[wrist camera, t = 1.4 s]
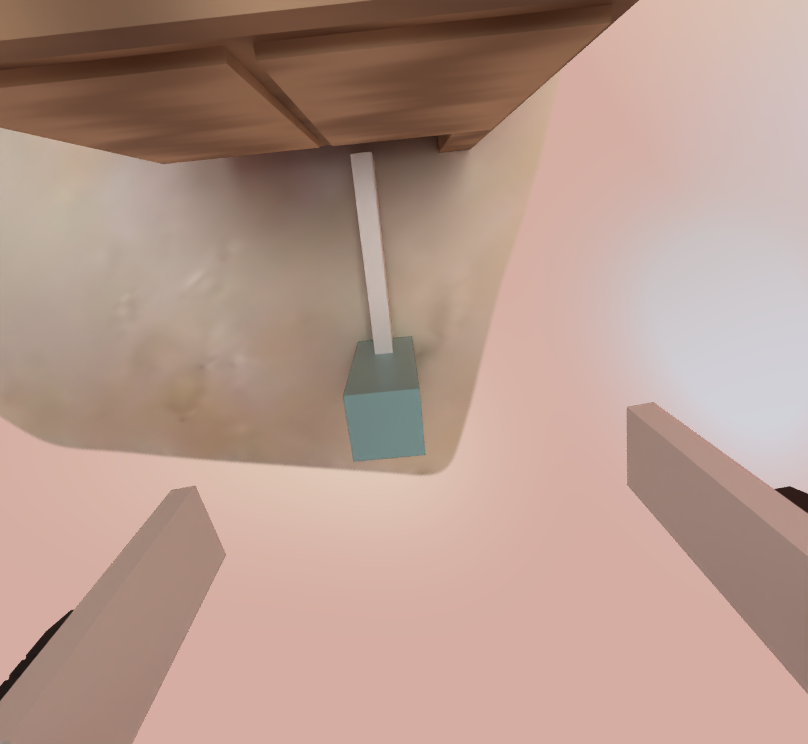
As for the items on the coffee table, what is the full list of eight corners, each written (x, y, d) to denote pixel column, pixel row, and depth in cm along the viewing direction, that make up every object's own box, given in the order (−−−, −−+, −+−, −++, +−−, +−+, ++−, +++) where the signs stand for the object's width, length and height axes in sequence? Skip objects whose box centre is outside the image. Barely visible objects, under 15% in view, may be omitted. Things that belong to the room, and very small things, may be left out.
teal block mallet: (365, 391, 33) (353, 461, 23) (333, 163, 27) (301, 135, 18) (416, 386, 33) (425, 454, 23) (395, 156, 27) (396, 125, 18)
